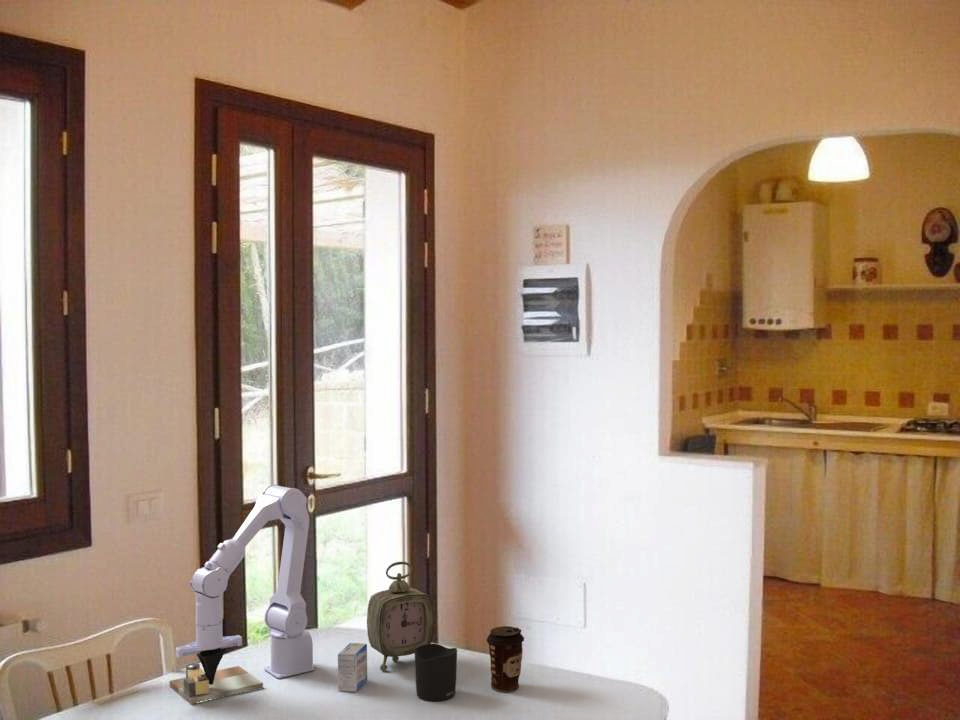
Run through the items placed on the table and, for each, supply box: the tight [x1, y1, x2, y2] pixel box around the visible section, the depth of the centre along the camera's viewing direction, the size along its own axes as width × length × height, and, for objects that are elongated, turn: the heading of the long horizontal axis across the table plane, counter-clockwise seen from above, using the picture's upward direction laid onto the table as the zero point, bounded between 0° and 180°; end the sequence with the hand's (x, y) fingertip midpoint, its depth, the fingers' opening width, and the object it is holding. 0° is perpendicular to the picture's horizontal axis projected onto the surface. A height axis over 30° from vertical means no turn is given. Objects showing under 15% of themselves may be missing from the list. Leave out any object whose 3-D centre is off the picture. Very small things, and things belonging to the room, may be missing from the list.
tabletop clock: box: [366, 561, 435, 672], centre depth 230 cm, size 14×9×25 cm, turn 120°
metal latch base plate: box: [169, 665, 264, 705], centre depth 215 cm, size 16×14×4 cm
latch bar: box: [185, 662, 209, 695], centre depth 212 cm, size 12×3×4 cm, turn 28°
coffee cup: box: [486, 625, 525, 693], centre depth 214 cm, size 9×8×13 cm
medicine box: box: [337, 642, 368, 693], centre depth 216 cm, size 8×4×9 cm, turn 168°
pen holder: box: [414, 643, 458, 702], centre depth 210 cm, size 9×9×10 cm
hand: (209, 683), depth 211 cm, fingers closed
